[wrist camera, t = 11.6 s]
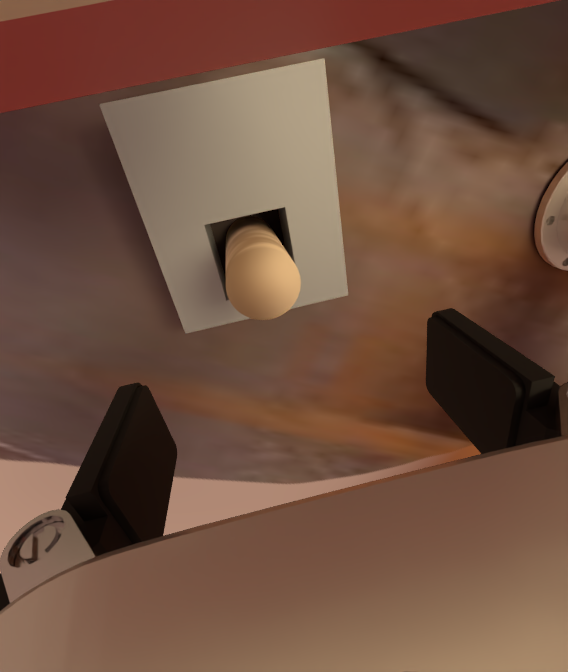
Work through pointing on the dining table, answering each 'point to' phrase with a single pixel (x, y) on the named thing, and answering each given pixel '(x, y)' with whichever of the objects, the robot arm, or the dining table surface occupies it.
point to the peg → (259, 270)
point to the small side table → (187, 37)
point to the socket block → (234, 179)
